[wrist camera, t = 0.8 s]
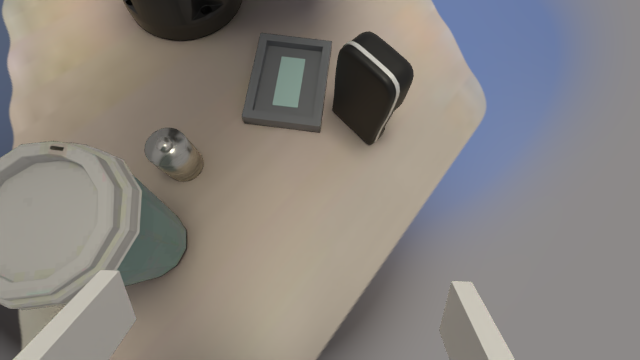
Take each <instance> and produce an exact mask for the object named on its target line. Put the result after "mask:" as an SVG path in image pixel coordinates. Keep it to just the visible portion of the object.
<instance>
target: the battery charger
mask: <svg viewBox="0 0 640 360" xmlns="http://www.w3.org/2000/svg"><path fill="white" fill-rule="evenodd" d="M413 77H414V76H413V69H412V66H411V65H410V63H409V62H408V61H407V60H406V59H405V58H404V57H402V56H401V55H400V54H399V53H398V52H397V51H396V50H394V49H393V48H392V47H391V46H390V45H388V44H387V43H386V42H385V41H383V40H382V39H381V38H380V37H379V36H377V35H376V34H374V33H372V32H363V33H361V34H360V35H358V36H357V37H356V38H354V39H353V40H352V41H349V42H347V43H346V44H345V45H344V46H343V48H342V49H341V50H340V52H339V55H338V60H337V67H336V75H335V90H334V101H333V108H332V109H333V111H334V112H335V113H336V114H337V115H338V116H339V117H340V118H341V119H342V120H343V121H344V122H345V123H346V124H347V125H348V126H349V127H351V128H352V129H353V130H354V131H355V132H356V133H357V134H358V135H359V136H360V137H361V138H362V139H363V140H364V141H365V142H367V143H368V144H369V145H370V144H372V143H375V142H376V141H377V139H378V138H379V137H380V136H381V135H382V133H383V132H384V130H385V125H386V123H387V122H388V120H389V118H390V117H391V115H392V113H393V112H394V111H395V110H396V109H397V108H398V107H399V106H400V105H401V104H402V102H403V100H404V98H405V96H406V94H407V92H408V90H409V88H410V85H411V83H412V80H413Z"/></svg>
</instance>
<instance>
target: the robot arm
mask: <svg viewBox="0 0 640 360" xmlns="http://www.w3.org/2000/svg"><path fill="white" fill-rule="evenodd" d="M123 1H124V4H125V6H126V7H127V9H128V10H129V12H130V13H131V15H132V16H133V18H134V19H135V21H136V22H137V23H138V24H139V25H140V26H141V27H142V28H143V29H145V30H146V31H148V32H149V33H151V34H153V35H156V36H158V37H162V38H166V39H171V40H189V39H195V38H199V37H203V36H206V35H209V34H211V33H213V32H215V31H217V30H219V29H220V28H222V27H223V26H224V25H226V24H227V23H228V22H229V21H230V20H231V19H232V18H233V17H234V15H235V14H236V12H237V11H238V9H239V7H240V4H241V1H242V0H123ZM135 321H136V317H135V314H134V311H133V308H132V305H131V303H130V300H129V297H128V294H127V291H126V289H125V286H124V283H123V280H122V277H121V275H120V272H119V271H114V270H100V271H99V272H98V273H97V274H96V275H95V276H94V277H93V278H92V279H91V280H90V281H89V282H88V283H87V284H86V285H85V286H84V287H83V288H82V289H81V290H80V292H79V293H78V294H77V295H76V296H75V297H74V298H73V299H72V300H71V301H70V302H69V303H68V304H67V305H66V306H65V307H64V308H63V309H62V310H61V311H60V312H59V313H58V314H57V315H56V316H55V317H54V318H53V319H52V320H51V321H50V322H49V323H48V324H47V325H46V326H45V327H44V328H43V329H42V330H41V331H40V332H39V333H38V335H37V336H36V337H35V338H34V339H33V340H32V341H31V342H30V343H29V344H28V345H27V346H26V347H25V348H24V349H23V350H22V351H21V352H20V353H19V354H18V355H17V356H16V357H15V358H14V359H13V360H109V359H110V357H111V356H112V354H113V353H114V351H115V350H116V349H117V347H118V346H119V344H120V343H121V341H122V340H123V338H124V337H125V335H126V334H127V332H128V331H129V330H130V328H131V327H132V325H133V324H134V322H135ZM439 331H440V334H441V337H442V339H443V343H444V346H445V348H446V351H447V354H448V356H449V360H515V359H514V358H513V356H512V354H511V352H510V350H509V348H508V347H507V345H506V343H505V341H504V340H503V338H502V336H501V334H500V332H499V330H498V329H497V327H496V325H495V324H494V321H493V320H492V318H491V316H490V314H489V312H488V311H487V309H486V307H485V305H484V303H483V302H482V300H481V298H480V296H479V294H478V293H477V291H476V289H475V287H474V285H473V283H472V282H460V281H452V282H451V285H450V289H449V293H448V298H447V301H446V306H445V309H444V313H443V317H442V321H441V325H440V329H439Z"/></svg>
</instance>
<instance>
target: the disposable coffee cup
mask: <svg viewBox="0 0 640 360" xmlns="http://www.w3.org/2000/svg"><path fill="white" fill-rule="evenodd" d="M185 250H186V230H185V228H184V226H183V225H182V223H181V221H180V220H179V218H178V217H177V216H176V215H175V214H174V213H173V212H172V211H171V210H170V209H169V208H168V207H166V206H165V205H164V204H163V203H162V202H161V201H160V200H159V199H158V198H157V197H156V196H155V195H154V194H153V193H152V192H150V191H149V190H148V189H147V188H146V187H145V186H144V185H143V184H142V183H141V182H140V181H139V180H138V179H137V178H135V177H134V176H133V175H132V173H131V172H130V170H129V168H128V167H127V165H126V163H125V162H124V160H123V159H120V158H118V157H116V156H113V155H111V154H109V153H107V152H104V151H102V150H100V149H97V148H93V147H90V146H88V145H85V144H77V143H65V142H58V141H49V142H40V143H31V144H21V145H20V146H18V147H17V148H15V149H13V150H12V151H10V152H9V153H7V154H6V155H4V156H3V157H1V158H0V304H2V305H3V306H5V307H7V308H9V309H21V310H28V309H36V308H44V307H51V306H59V305H67V304H68V303H69V302H70V301H71V300H72V299H73V298H74V297H75V296H76V295H77V294H78V293H79V292H80V290H81V289H82V288H83V287H84V286H85V285H86V284H87V283H88V282H89V281H90V280H91V279H92V278H93V277H94V276H95V275H96V274H97V273H98V272H99V271H100V270H114V271H119V272H120V275H121V277H122V280H123V283H124V286H127V285H131V284H134V283H138V282H142V281H145V280H149V279H153V278H157V277H160V276H162V275H163V274H165V273H166V272H168V271H169V270H171V269H172V268H173V267H175V266H176V265H177V264H178V262H179V261H180V259H181V257H182V255H183V253H184V252H185Z"/></svg>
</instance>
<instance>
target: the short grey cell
mask: <svg viewBox="0 0 640 360" xmlns="http://www.w3.org/2000/svg"><path fill="white" fill-rule="evenodd" d="M145 154H146V157H147V158H148V160H149V161H150V162H152V163H153V164H154V165H156V166H157V167H159V168H160V169H161V170H163V171H164V172H165V173H167V174H168V175H169V176H171V177H172V178H173V179H175V180H177V181H182V182H184V181H190V180H192V179H194V178H196V177H197V176H198V175H199V174H200V173H201V171H202V169H203V165H204V161H203V157H202V155H201V154H200V153H199V152H198V151H197V149H196V148H195V147H194V146H193V145H192V144H191V143H190V141H189V140H188V139H187V138H186V137H185V136H184V134H183V133H182V132H180V131H179V130H177V129H174V128H163V129H160V130H157V131H156V132H154V133H153V134H152V135H151V136H150V137H149V138H148V140H147V141H146V144H145Z"/></svg>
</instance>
